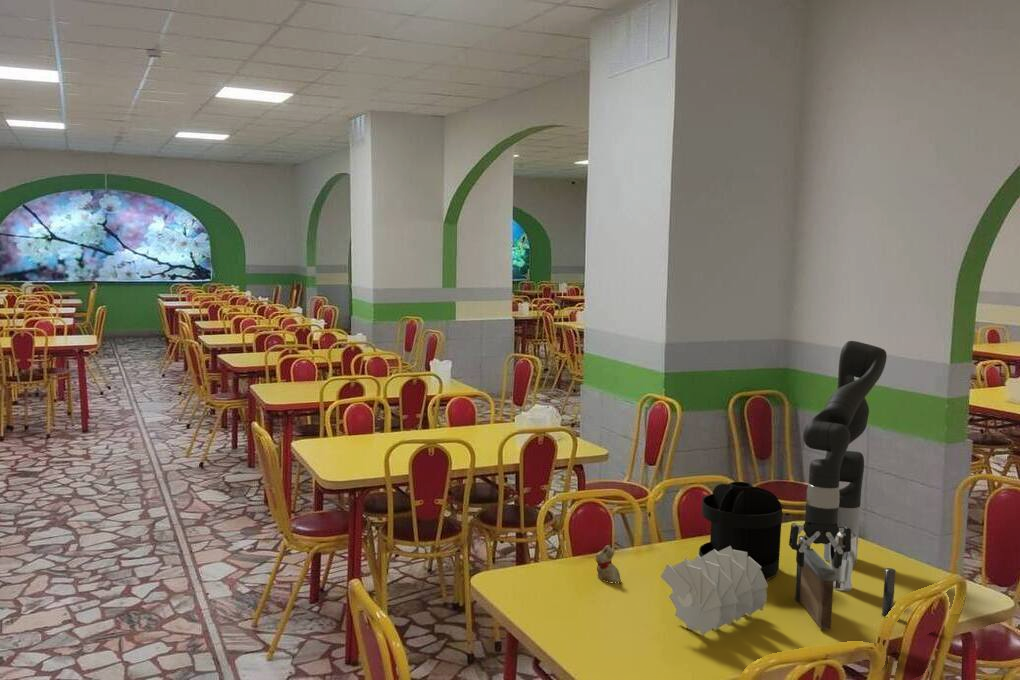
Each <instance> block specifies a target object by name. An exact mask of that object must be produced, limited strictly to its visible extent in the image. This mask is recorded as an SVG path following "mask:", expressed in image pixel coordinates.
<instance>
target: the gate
mask: <svg viewBox="0 0 1020 680" xmlns="http://www.w3.org/2000/svg"><path fill="white" fill-rule="evenodd" d="M803 552H804V567H802V569H801V586H800V602H801V604H802V606H803V607H804V608H805V609H806V611H807V612H808V613H809V614H810V616H811V617H812V619H813V621H814V622H816V624H817V626H818V628H819V629H821V630H823V629H824V630H831V627H832V614H833V612H832V611H833V599H834V598H833V597H834V589H833V585H834V581H835V574H836V573H835V572H834V571H833V570H832V569H831V568H830V564H828V563H827V562H826V561H825V559H824V558H822V557H821V556H820V554H818V553H817V552H816V550H814V549H813V548H810V549H808V548H806V549H805V550H804V551H803ZM800 602H799V603H800Z"/></svg>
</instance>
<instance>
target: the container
mask: <svg viewBox="0 0 1020 680" xmlns="http://www.w3.org/2000/svg"><path fill="white" fill-rule="evenodd" d="M701 501H702V502H701V503H702V504H701V515H702V517H703V518H705V520H707V521H709V522H710V538H709V539H710V540H709V542H706V543H703V544H702V545H700V547H699V550H698V555H699V556H700V557H702V556H704V555H705V554H707V553H709V552H710V551H712V550H714V549H715V550H716V551H720V550H723V549H725V548H727V547H729V546H731V548H732V550H738V551H743V552H747V558H748V556H750V557H751V558H752V559H753V560H754V561H755V562H756V563H758V564H759V565H760V566H761V569H760V570H761V571H762V573H763V575H764V578H765V580H766V581H767V580H769V579H772V578H774V577H775V576H776V575H777V574H778V572H779V570H780V569H779V568H780V556H781V555H780V554H781V553H780V551H781V536H782V535H781V534H782V517H783V504H781V501H780V500H779V498H778V497H777V496H776V495H775V494H774V493H773V492H771V491H769V490H767V489H765V488H761V487H757V486H753V485H752V483H749V482H745V481H732V482H730V483H727V484H726V483H720V484H718V485H715V487H714V488H713V491H712V493H711V494H708V495H705V496H704V497H703V498H702V500H701Z"/></svg>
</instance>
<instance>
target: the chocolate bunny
mask: <svg viewBox="0 0 1020 680" xmlns="http://www.w3.org/2000/svg"><path fill="white" fill-rule="evenodd" d="M614 555H615V550H614V549H613V548H612V547H611V545H610V544H608V545H605V546H604V548H603V549H602V550H600V551H599V552H597V553H596V555H595V562H596V563H597V566H596V572H597V574H596V576H598V577H599V578H600V579H602V580H605V581H608V582H613V583H612V584H615V582H616V583H618V582H619V583H620V582H621V583H622V581H621V580H622V579H621V575H620V574H621V573H620V571H619V569H618V567H616V565H614V564H613V563H612V559H613V556H614ZM598 577H597V578H598ZM599 578H598V579H599ZM600 579H599V580H600ZM602 580H601V581H602ZM605 581H604V582H605ZM608 582H607V583H608ZM621 583H620V584H621Z"/></svg>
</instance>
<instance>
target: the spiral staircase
mask: <svg viewBox="0 0 1020 680" xmlns="http://www.w3.org/2000/svg"><path fill="white" fill-rule="evenodd" d="M760 569H761V566H760V565H759V564H758V563H756V562H755V561H754V560H753V559H752V558H751V557H750V556H748V558H747V552H743V551H738V550H732V548H731V546H729V547H727V548H725V549H723V550H720V551H716V550H715V549H714V550H712V551H710V552H709V553H707V554H705V555H704V556H702V557H700V556H699V554H696V556H695V558H694V559H692V560H689V559H688V558H685V559H684V560H683V561H681V562H679V563H677V564H675V565H672V566H671V564H669V563H667V564H666V565H665V568H664V569H663V572H662V574H661V575H660V577H661V579H662V580H663V581H664V582H665V583H666V584H667V585H668V587H670V588H671V591H672V593H671V594H670V595H668V597H669V599H670V601H671V603H672V604H673V606H674V608H675V609H676V610H675V614H674V616H675V617H676V618H678V619H679V620H680V621H682V622H683V623H685V624H686V629H687V628H688V629H691V630H690V631H698V632H700V634H701V636H703V635H706V633H708V632H709V631H711V630H714V631H717V630H718V629H720V628H721V627H723V626H725V625H727V626H728V627H731V625H732V623H733V622H734V621H736V622H738V621H739V620H740V619H741V618H742V617H743V616H745V614H747V616H748V617H749V616H751V615H753V614H754V613H756V612H757V611H758V610H760V611H763V610H764V608H765V604H767V598H768V595H767V587H769V584H768V583H767V579H766V580H765V578H764V575H763V573H762V571H761V570H760ZM733 620H734V621H733ZM717 628H718V629H717Z"/></svg>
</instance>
